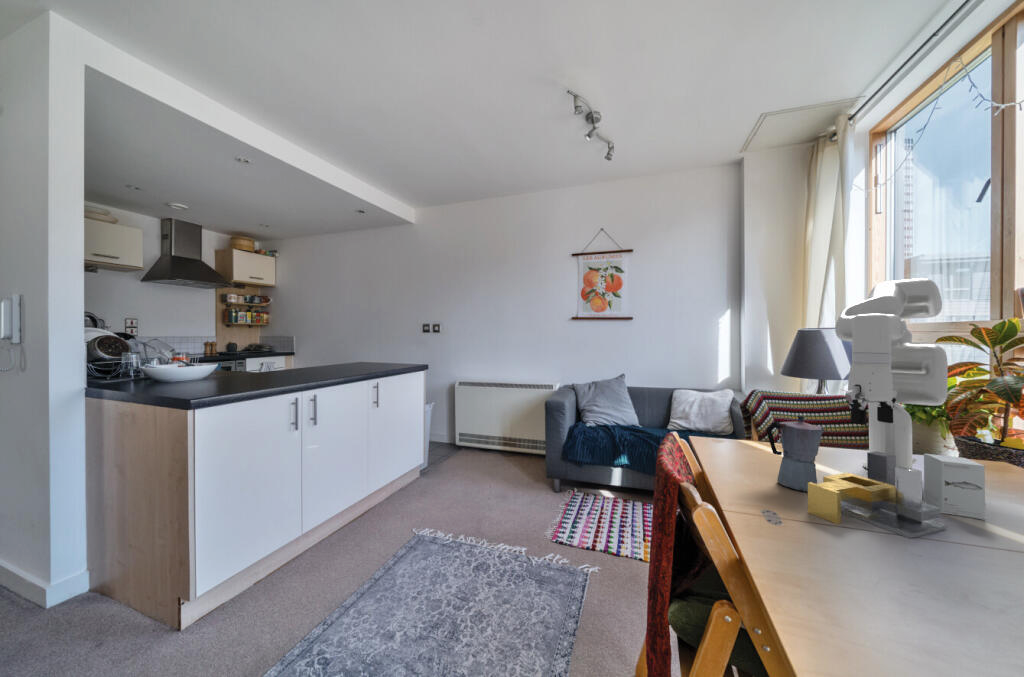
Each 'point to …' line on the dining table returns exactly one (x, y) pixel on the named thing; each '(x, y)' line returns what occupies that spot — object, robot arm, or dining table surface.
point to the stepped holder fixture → (876, 502)
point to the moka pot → (797, 452)
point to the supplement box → (955, 485)
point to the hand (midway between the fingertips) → (872, 423)
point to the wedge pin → (881, 467)
